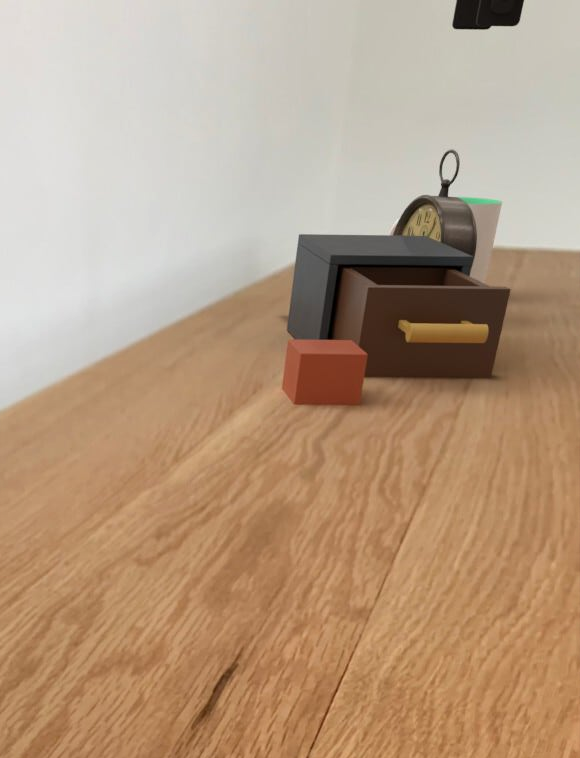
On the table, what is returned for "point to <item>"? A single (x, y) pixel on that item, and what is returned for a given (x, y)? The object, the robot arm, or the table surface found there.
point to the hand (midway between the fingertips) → (483, 27)
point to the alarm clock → (441, 217)
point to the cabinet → (330, 251)
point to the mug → (480, 232)
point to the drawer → (419, 320)
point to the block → (324, 372)
